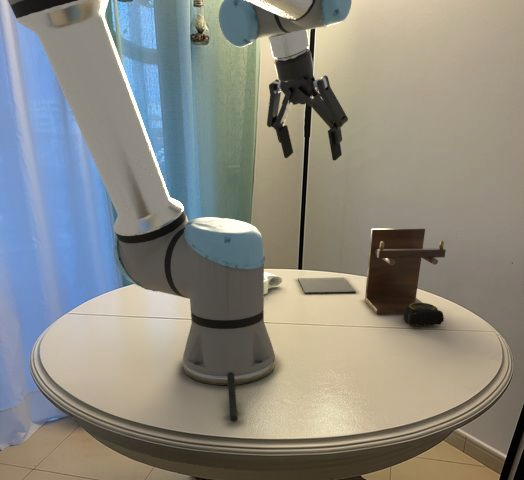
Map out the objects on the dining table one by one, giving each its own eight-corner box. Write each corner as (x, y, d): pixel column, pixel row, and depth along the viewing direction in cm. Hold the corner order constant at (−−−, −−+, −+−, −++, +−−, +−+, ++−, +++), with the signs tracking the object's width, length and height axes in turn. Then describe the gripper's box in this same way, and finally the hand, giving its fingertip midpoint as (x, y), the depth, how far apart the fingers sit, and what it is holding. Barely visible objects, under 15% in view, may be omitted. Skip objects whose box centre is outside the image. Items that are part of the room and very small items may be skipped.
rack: (433, 316, 98) (446, 237, 92) (379, 317, 98) (387, 238, 91) (413, 300, 110) (423, 228, 103) (364, 301, 109) (371, 228, 102)
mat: (355, 292, 115) (355, 291, 115) (304, 293, 115) (305, 292, 115) (343, 278, 128) (343, 277, 128) (298, 279, 128) (298, 278, 127)
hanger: (444, 257, 95) (447, 241, 93) (378, 258, 94) (380, 242, 93) (441, 255, 96) (443, 240, 95) (376, 256, 95) (378, 241, 94)
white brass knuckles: (289, 288, 119) (244, 299, 111) (249, 275, 132) (206, 284, 124) (290, 276, 118) (244, 285, 109) (248, 264, 131) (205, 271, 122)
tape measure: (409, 330, 91) (411, 312, 90) (398, 318, 97) (400, 301, 96) (442, 329, 91) (445, 311, 90) (429, 317, 98) (431, 301, 96)
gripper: (355, 39, 85) (368, 150, 100) (255, 52, 100) (279, 147, 114) (335, 55, 82) (350, 167, 96) (234, 66, 96) (261, 162, 111)
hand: (312, 156), depth 105 cm, fingers open, 13 cm apart
